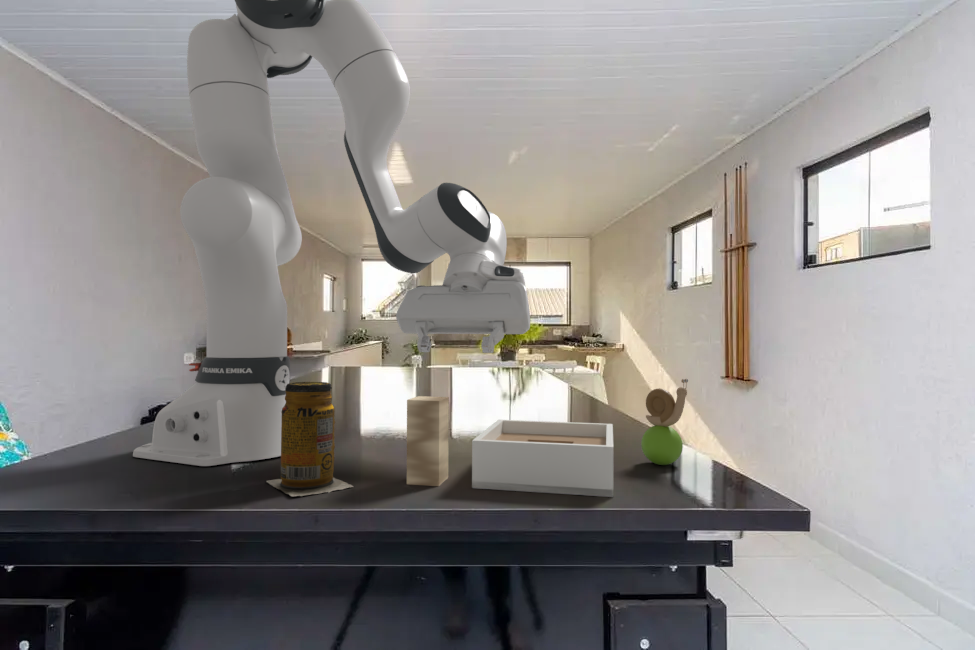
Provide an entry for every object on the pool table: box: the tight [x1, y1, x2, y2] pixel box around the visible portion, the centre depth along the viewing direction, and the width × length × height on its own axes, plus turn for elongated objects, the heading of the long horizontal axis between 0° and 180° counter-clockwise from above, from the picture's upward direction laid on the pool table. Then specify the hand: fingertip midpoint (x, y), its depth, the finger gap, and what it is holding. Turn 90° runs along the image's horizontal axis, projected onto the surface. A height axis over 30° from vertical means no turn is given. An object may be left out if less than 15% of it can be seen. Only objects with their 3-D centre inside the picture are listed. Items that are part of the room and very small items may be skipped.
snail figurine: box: [640, 378, 689, 466], centre depth 78 cm, size 5×6×12 cm
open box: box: [471, 419, 614, 498], centre depth 72 cm, size 16×16×6 cm
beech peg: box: [406, 395, 450, 487], centre depth 69 cm, size 4×4×10 cm
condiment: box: [266, 381, 354, 497], centre depth 67 cm, size 7×8×12 cm
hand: (454, 349), depth 81 cm, fingers open, 8 cm apart
